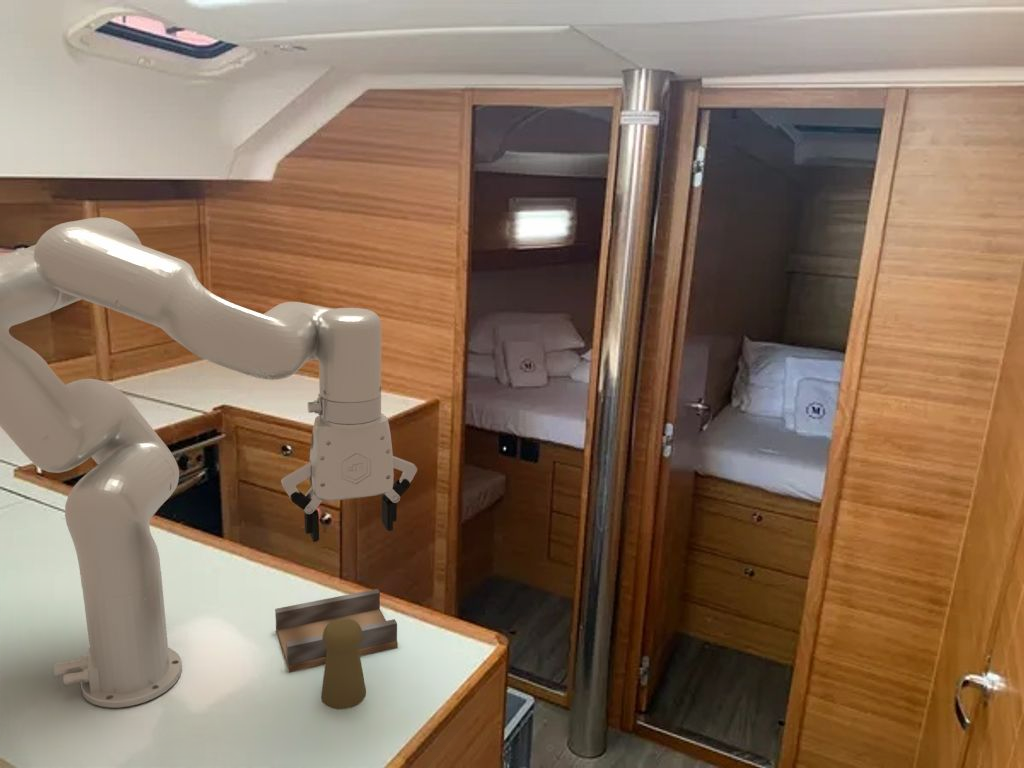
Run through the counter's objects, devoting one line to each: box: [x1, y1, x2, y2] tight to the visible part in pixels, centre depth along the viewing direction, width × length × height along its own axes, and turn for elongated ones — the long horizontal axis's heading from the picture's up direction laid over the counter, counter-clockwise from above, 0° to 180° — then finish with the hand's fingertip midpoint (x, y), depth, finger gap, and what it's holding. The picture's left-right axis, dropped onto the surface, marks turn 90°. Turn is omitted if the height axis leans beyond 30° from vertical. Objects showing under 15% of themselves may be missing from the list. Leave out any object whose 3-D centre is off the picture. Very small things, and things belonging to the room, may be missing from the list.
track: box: [274, 588, 399, 673], centre depth 121 cm, size 16×11×4 cm
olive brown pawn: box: [320, 618, 367, 710], centre depth 108 cm, size 6×6×11 cm
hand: (351, 531), depth 105 cm, fingers open, 9 cm apart
